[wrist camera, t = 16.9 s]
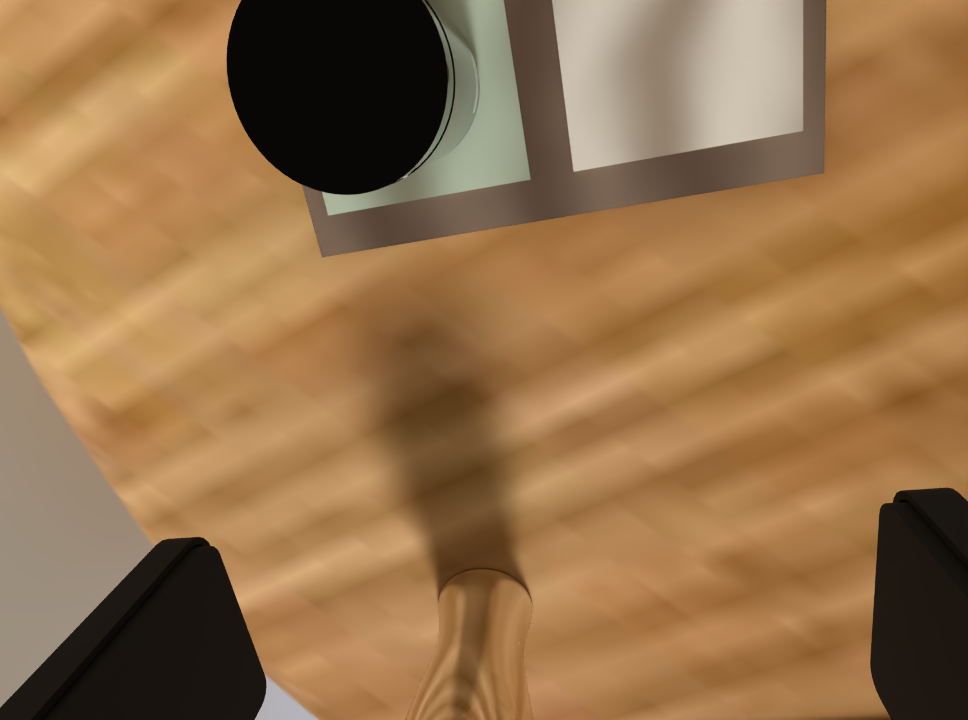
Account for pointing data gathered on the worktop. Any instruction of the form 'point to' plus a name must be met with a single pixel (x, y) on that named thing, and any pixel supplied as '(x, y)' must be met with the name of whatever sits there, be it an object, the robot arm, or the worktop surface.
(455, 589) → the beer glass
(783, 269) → the worktop surface
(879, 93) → the worktop surface
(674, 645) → the worktop surface
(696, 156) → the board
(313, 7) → the supplement container
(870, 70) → the worktop surface
